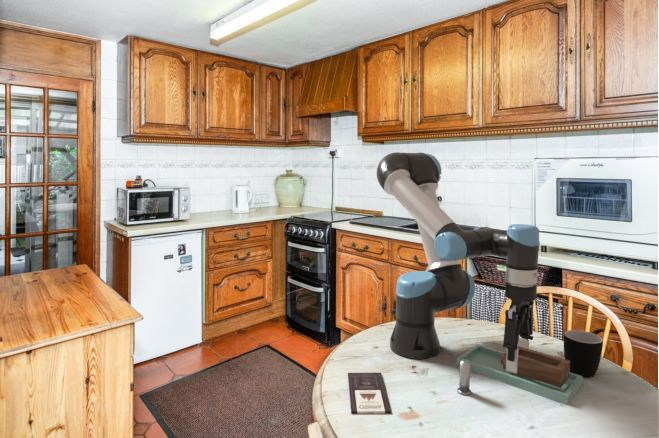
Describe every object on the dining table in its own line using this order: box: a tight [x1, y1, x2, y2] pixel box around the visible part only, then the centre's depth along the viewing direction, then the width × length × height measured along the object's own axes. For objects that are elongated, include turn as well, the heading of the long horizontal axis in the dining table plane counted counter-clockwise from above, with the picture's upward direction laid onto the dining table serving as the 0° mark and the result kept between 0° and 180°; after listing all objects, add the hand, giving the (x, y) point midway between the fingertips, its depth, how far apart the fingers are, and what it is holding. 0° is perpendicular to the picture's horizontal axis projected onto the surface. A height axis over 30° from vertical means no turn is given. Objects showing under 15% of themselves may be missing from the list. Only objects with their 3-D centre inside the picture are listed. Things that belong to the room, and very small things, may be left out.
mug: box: [563, 329, 604, 378], centre depth 112 cm, size 12×9×10 cm
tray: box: [456, 343, 584, 406], centre depth 110 cm, size 28×13×2 cm, turn 45°
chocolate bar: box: [347, 372, 392, 415], centre depth 102 cm, size 9×1×18 cm
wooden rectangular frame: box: [501, 345, 570, 388], centre depth 107 cm, size 7×16×4 cm, turn 45°
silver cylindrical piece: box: [457, 359, 472, 396], centre depth 101 cm, size 3×3×8 cm
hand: (517, 366), depth 110 cm, fingers closed on wooden rectangular frame, 7 cm apart
